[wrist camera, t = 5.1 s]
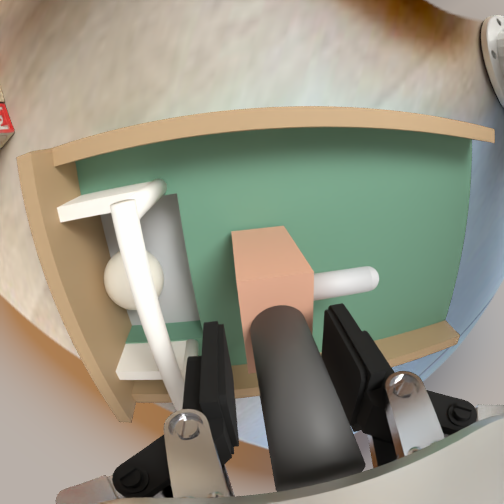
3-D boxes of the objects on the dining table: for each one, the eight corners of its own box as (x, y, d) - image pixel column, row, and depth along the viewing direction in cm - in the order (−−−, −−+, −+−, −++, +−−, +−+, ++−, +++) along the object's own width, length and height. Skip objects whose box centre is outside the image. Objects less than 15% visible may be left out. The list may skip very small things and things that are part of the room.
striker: (358, 218, 17) (523, 352, 5) (354, 289, 19) (462, 444, 7) (231, 231, 16) (257, 452, 5) (240, 306, 18) (268, 511, 6)
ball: (99, 247, 18) (154, 234, 19) (114, 298, 19) (165, 285, 21) (93, 269, 14) (160, 253, 16) (113, 328, 16) (174, 313, 17)
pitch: (451, 124, 18) (537, 136, 9) (429, 314, 25) (480, 371, 16) (77, 146, 16) (-10, 163, 8) (136, 359, 23) (114, 443, 15)
